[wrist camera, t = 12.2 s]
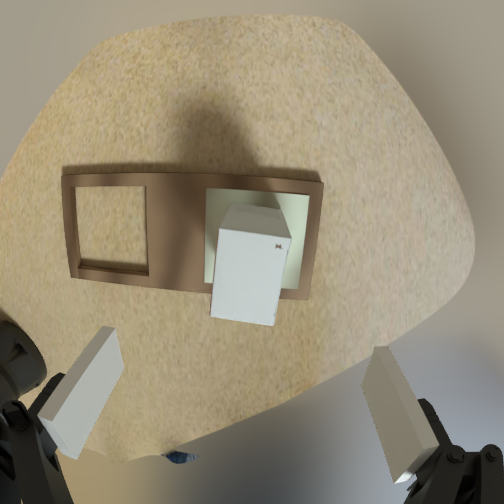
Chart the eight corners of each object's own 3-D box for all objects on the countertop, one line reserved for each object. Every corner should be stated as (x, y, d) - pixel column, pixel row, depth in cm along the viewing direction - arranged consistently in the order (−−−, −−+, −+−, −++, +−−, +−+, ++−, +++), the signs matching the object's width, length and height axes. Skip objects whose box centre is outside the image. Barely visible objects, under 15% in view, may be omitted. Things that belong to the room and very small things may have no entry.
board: (75, 274, 36) (70, 278, 35) (66, 174, 32) (60, 176, 31) (306, 295, 36) (308, 301, 35) (321, 182, 32) (324, 183, 30)
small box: (231, 200, 31) (217, 224, 21) (283, 208, 31) (293, 236, 22) (222, 269, 34) (207, 318, 24) (270, 277, 34) (274, 327, 24)
